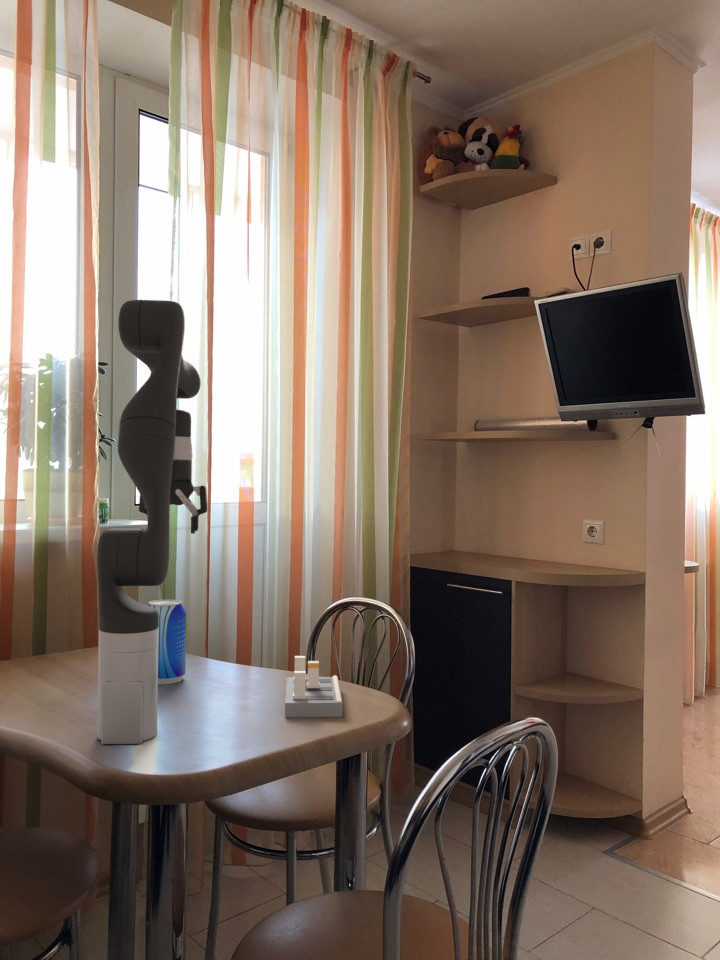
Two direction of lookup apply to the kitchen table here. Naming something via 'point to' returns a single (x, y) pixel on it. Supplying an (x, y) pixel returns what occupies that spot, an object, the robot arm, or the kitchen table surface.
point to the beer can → (171, 640)
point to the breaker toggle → (313, 674)
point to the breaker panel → (311, 695)
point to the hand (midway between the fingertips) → (173, 533)
